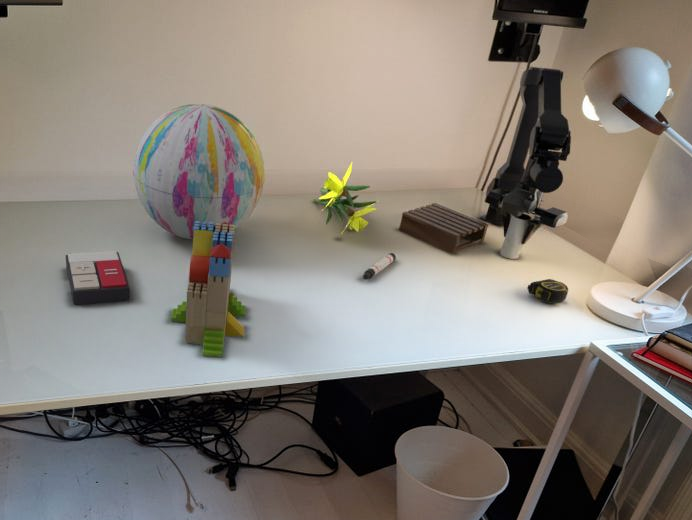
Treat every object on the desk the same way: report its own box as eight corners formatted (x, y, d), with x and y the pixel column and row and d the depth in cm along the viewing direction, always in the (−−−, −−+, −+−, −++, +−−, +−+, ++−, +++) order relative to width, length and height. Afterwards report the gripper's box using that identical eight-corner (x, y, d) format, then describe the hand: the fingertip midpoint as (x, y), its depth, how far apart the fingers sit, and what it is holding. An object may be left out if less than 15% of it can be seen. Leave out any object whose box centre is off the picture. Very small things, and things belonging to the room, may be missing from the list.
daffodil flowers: (363, 207, 185) (398, 222, 152) (317, 232, 186) (342, 252, 153) (337, 152, 180) (368, 156, 147) (290, 178, 181) (310, 188, 148)
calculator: (72, 288, 123) (65, 250, 135) (73, 307, 126) (66, 269, 137) (129, 284, 127) (118, 248, 138) (130, 303, 129) (118, 265, 140)
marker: (387, 259, 155) (389, 251, 154) (394, 261, 154) (396, 254, 153) (358, 281, 144) (360, 272, 143) (366, 284, 143) (368, 275, 142)
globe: (236, 208, 174) (245, 90, 157) (276, 257, 151) (292, 124, 134) (124, 213, 165) (121, 88, 148) (148, 266, 142) (147, 125, 125)
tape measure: (547, 290, 148) (552, 275, 146) (570, 304, 143) (576, 289, 141) (524, 294, 145) (530, 279, 143) (547, 308, 140) (553, 293, 138)
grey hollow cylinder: (519, 254, 164) (533, 215, 158) (517, 260, 160) (531, 221, 154) (500, 249, 165) (513, 211, 159) (498, 256, 162) (511, 217, 156)
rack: (430, 220, 178) (434, 202, 175) (483, 242, 168) (489, 224, 165) (398, 230, 170) (402, 212, 167) (451, 254, 160) (457, 235, 157)
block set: (180, 279, 138) (183, 191, 127) (246, 284, 138) (255, 197, 127) (163, 352, 115) (165, 252, 104) (242, 359, 115) (252, 260, 104)
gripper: (481, 171, 153) (463, 233, 161) (555, 197, 141) (532, 262, 150) (506, 164, 159) (488, 224, 168) (579, 188, 148) (555, 251, 156)
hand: (514, 240), depth 160 cm, fingers closed on grey hollow cylinder, 4 cm apart
